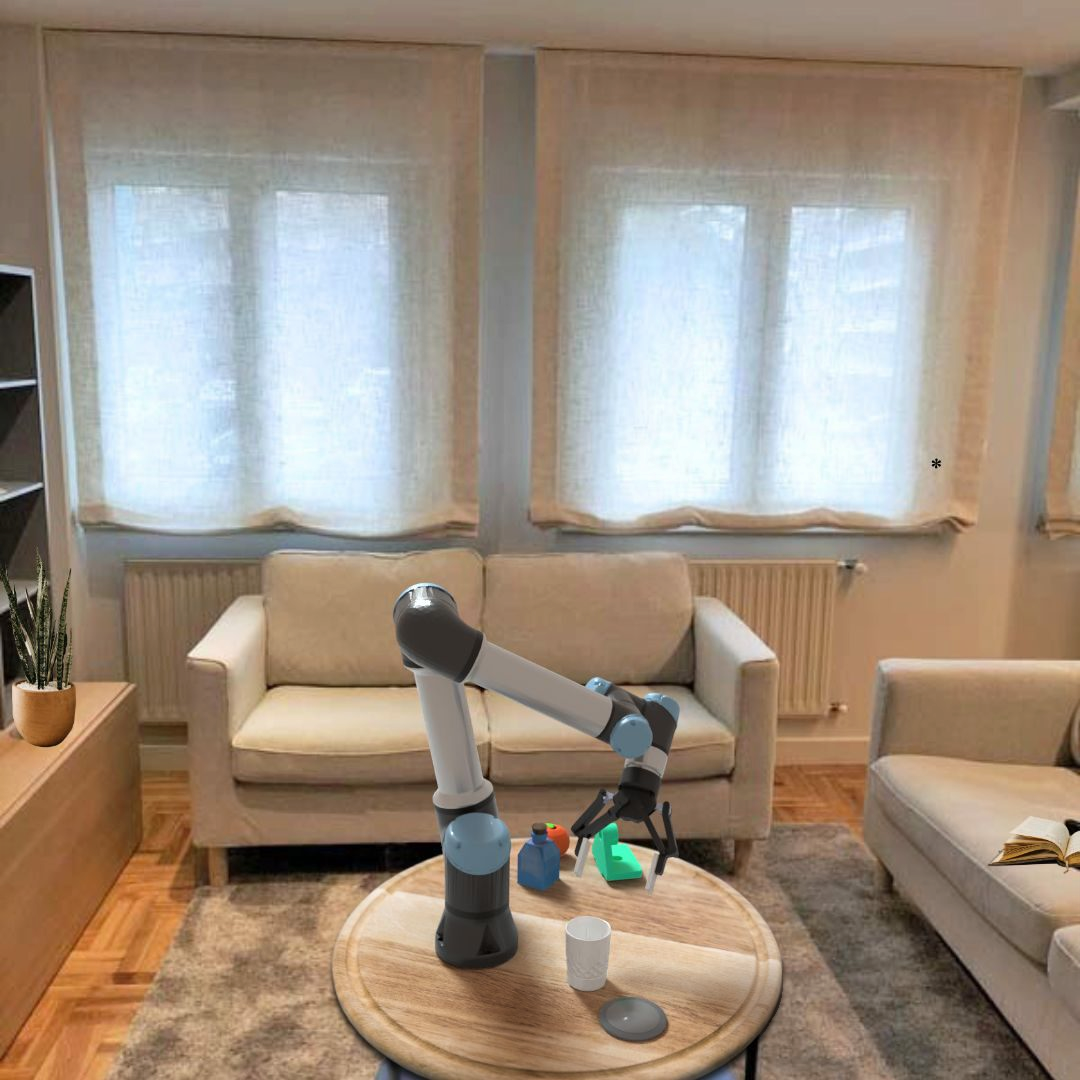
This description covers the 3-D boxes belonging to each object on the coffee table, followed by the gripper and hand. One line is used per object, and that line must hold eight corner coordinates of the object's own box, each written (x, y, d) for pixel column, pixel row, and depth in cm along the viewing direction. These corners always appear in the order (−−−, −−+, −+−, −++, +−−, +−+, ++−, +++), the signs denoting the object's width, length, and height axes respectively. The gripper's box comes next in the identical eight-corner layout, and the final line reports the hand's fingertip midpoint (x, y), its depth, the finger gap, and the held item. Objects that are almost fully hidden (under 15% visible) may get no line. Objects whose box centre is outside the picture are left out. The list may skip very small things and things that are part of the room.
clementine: (526, 854, 242) (526, 823, 240) (548, 844, 247) (548, 813, 245) (554, 867, 236) (555, 835, 235) (576, 856, 241) (577, 825, 240)
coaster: (589, 1029, 184) (589, 1025, 184) (613, 993, 193) (613, 989, 193) (653, 1048, 179) (653, 1044, 179) (675, 1010, 189) (675, 1006, 189)
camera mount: (642, 882, 231) (644, 835, 229) (606, 885, 230) (608, 838, 228) (626, 854, 243) (628, 810, 241) (591, 857, 241) (593, 812, 239)
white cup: (582, 962, 202) (583, 911, 200) (618, 979, 198) (620, 926, 196) (554, 981, 196) (556, 929, 194) (591, 999, 192) (592, 945, 190)
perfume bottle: (559, 878, 232) (560, 824, 229) (543, 891, 227) (544, 835, 224) (533, 870, 235) (534, 816, 233) (517, 882, 230) (518, 827, 227)
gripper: (710, 793, 211) (683, 905, 201) (586, 769, 221) (553, 874, 211) (704, 777, 205) (675, 891, 195) (576, 753, 215) (542, 861, 205)
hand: (612, 883), depth 203 cm, fingers open, 13 cm apart
